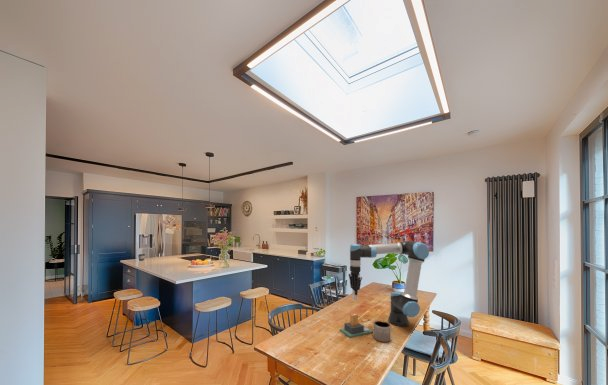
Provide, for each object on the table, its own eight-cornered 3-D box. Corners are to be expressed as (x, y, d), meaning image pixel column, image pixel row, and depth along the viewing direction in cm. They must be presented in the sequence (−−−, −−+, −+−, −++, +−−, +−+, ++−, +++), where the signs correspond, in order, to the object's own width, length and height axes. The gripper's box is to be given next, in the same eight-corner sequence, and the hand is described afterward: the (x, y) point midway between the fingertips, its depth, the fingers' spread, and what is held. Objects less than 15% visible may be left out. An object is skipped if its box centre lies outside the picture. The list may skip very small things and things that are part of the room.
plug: (355, 328, 182) (355, 313, 183) (357, 329, 180) (357, 314, 181) (350, 329, 180) (350, 314, 181) (352, 330, 178) (352, 315, 179)
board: (361, 326, 190) (362, 319, 191) (372, 333, 180) (372, 325, 180) (339, 330, 182) (339, 323, 182) (349, 338, 171) (349, 329, 172)
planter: (379, 343, 165) (379, 328, 166) (370, 335, 175) (370, 321, 176) (393, 341, 168) (393, 326, 169) (384, 334, 178) (384, 320, 179)
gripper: (345, 264, 190) (345, 297, 187) (356, 267, 178) (356, 302, 176) (353, 263, 193) (353, 296, 191) (365, 267, 181) (365, 301, 179)
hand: (355, 299), depth 183 cm, fingers closed
